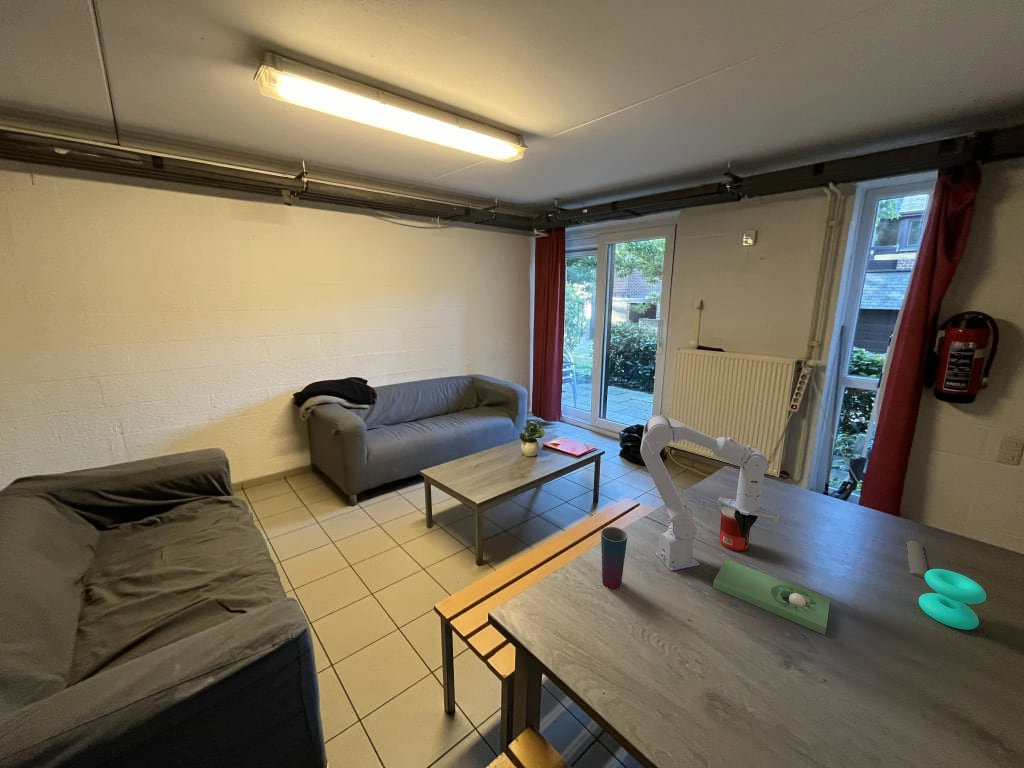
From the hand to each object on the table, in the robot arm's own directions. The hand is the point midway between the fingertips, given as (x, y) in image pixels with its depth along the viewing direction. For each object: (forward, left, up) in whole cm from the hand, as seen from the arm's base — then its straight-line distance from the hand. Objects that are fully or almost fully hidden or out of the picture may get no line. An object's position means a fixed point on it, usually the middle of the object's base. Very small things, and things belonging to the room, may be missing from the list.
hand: (743, 536), depth 113 cm
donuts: (+35, -27, -11) cm, 45 cm away
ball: (+3, -16, -9) cm, 18 cm away
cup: (-38, +4, -11) cm, 40 cm away
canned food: (+7, +10, -10) cm, 16 cm away
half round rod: (+53, -10, -11) cm, 55 cm away
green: (-1, -11, -10) cm, 15 cm away
